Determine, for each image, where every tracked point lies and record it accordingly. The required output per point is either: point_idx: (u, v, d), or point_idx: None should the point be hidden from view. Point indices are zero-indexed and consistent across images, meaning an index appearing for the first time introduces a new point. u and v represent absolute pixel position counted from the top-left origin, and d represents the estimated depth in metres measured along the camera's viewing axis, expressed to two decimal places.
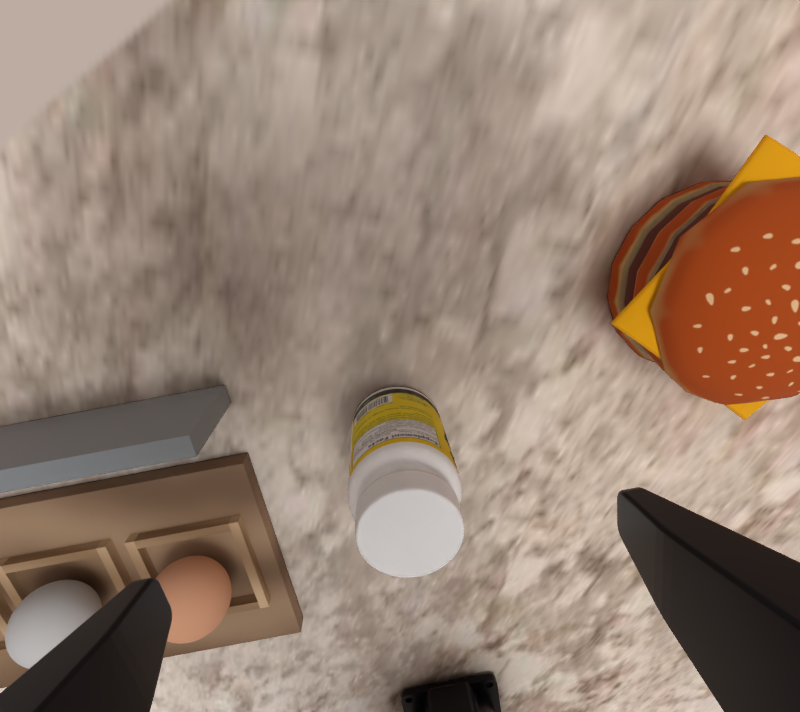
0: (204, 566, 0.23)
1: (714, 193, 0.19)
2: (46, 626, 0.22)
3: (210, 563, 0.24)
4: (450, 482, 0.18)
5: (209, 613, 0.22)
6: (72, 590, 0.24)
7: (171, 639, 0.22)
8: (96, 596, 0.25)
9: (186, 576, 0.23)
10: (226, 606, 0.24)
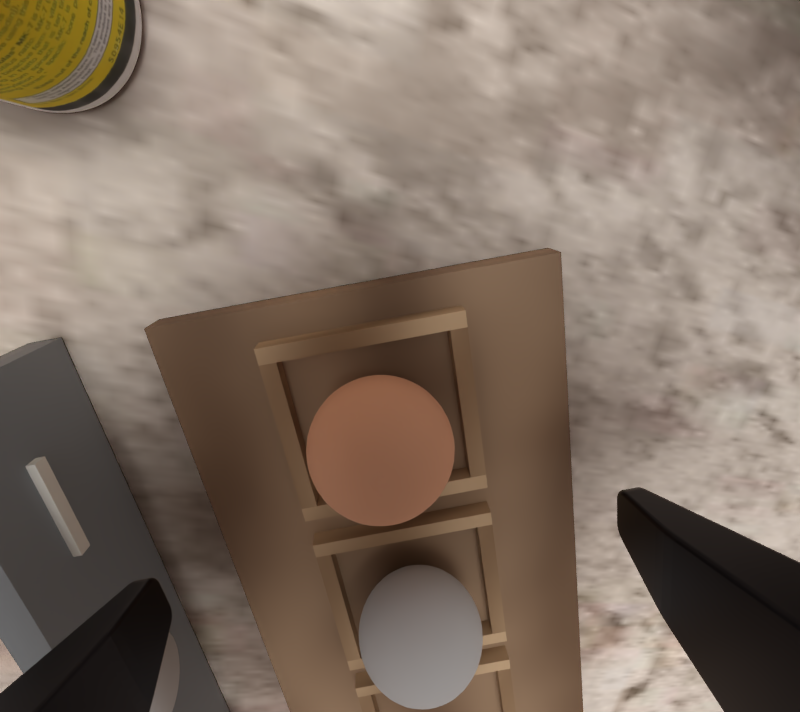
0: (314, 416, 0.12)
1: None
2: (380, 658, 0.13)
3: (321, 405, 0.13)
4: None
5: (367, 425, 0.11)
6: (367, 602, 0.15)
7: (405, 500, 0.11)
8: (399, 571, 0.15)
9: (307, 451, 0.12)
10: (389, 390, 0.12)
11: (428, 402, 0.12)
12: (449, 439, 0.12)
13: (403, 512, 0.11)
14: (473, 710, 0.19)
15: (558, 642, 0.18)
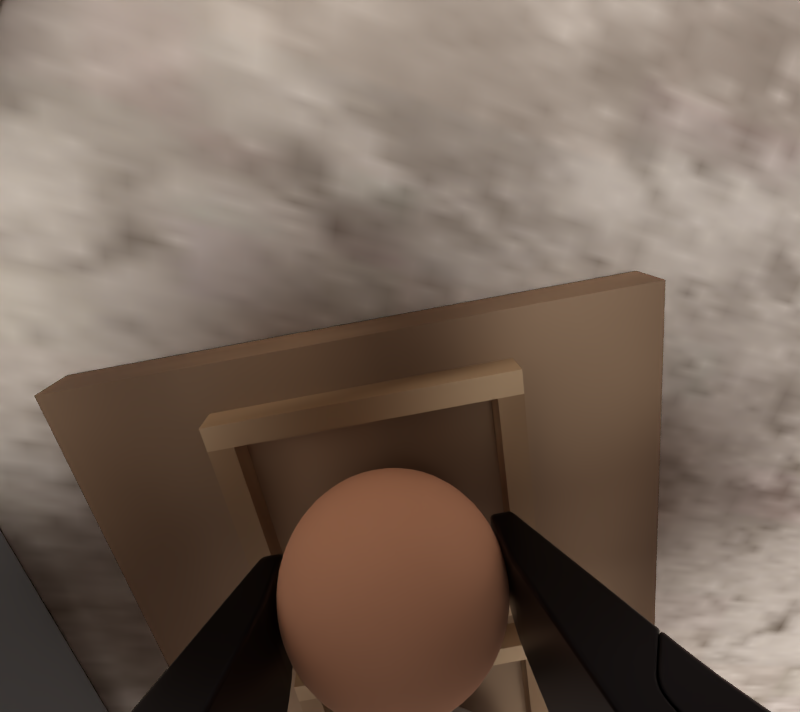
0: (290, 539, 0.08)
1: None
2: None
3: (302, 517, 0.08)
4: None
5: (374, 582, 0.06)
6: None
7: (437, 706, 0.07)
8: None
9: (277, 601, 0.07)
10: (408, 510, 0.07)
11: (471, 526, 0.07)
12: (504, 585, 0.07)
13: None
14: None
15: None
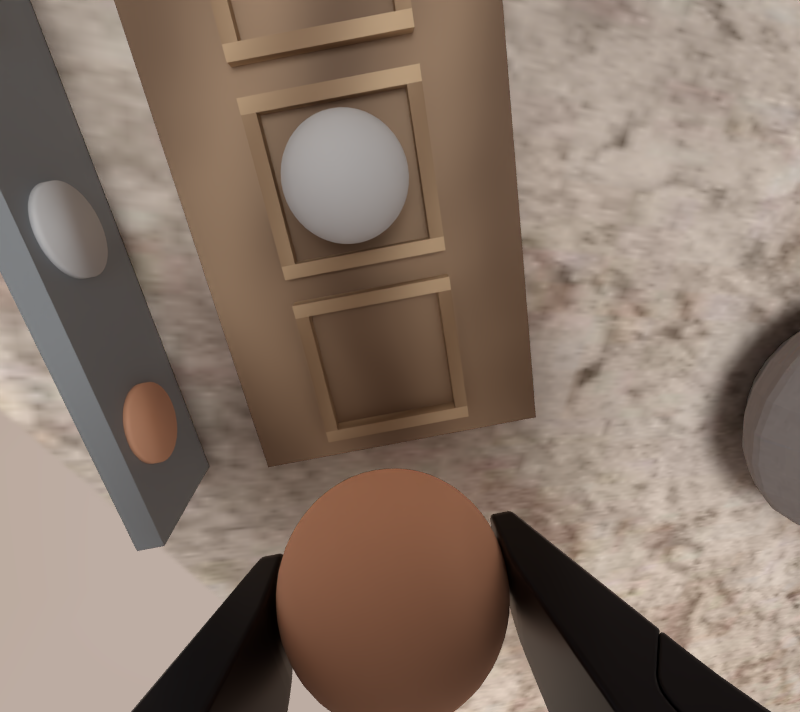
0: (289, 539, 0.08)
1: None
2: (295, 152, 0.13)
3: (301, 518, 0.08)
4: None
5: (373, 583, 0.06)
6: None
7: (437, 708, 0.06)
8: None
9: (277, 602, 0.07)
10: (408, 511, 0.07)
11: (471, 527, 0.07)
12: (504, 586, 0.07)
13: None
14: (419, 363, 0.19)
15: (502, 274, 0.18)
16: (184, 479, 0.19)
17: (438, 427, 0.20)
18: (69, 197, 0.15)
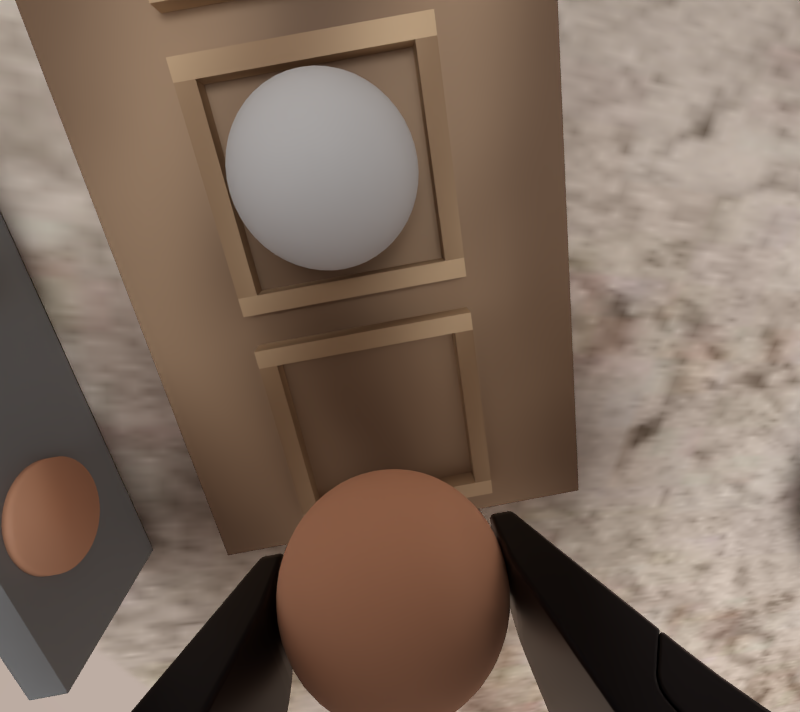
0: (289, 540, 0.08)
1: None
2: (243, 132, 0.08)
3: (301, 519, 0.08)
4: None
5: (373, 584, 0.06)
6: None
7: (437, 709, 0.06)
8: None
9: (277, 603, 0.07)
10: (409, 512, 0.07)
11: (471, 527, 0.07)
12: (505, 587, 0.07)
13: None
14: (427, 423, 0.14)
15: (541, 307, 0.13)
16: (110, 580, 0.14)
17: None
18: None
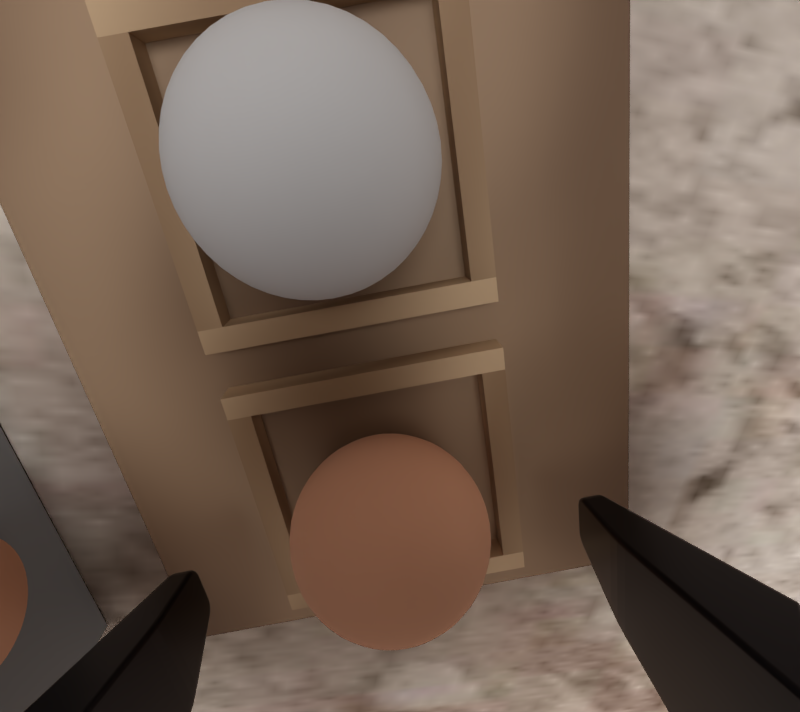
0: None
1: None
2: (176, 97, 0.05)
3: (310, 476, 0.09)
4: None
5: (373, 520, 0.08)
6: None
7: (427, 625, 0.08)
8: None
9: (290, 544, 0.09)
10: (403, 464, 0.08)
11: (457, 478, 0.09)
12: (486, 529, 0.09)
13: (424, 638, 0.08)
14: None
15: (591, 338, 0.10)
16: (43, 681, 0.11)
17: None
18: None
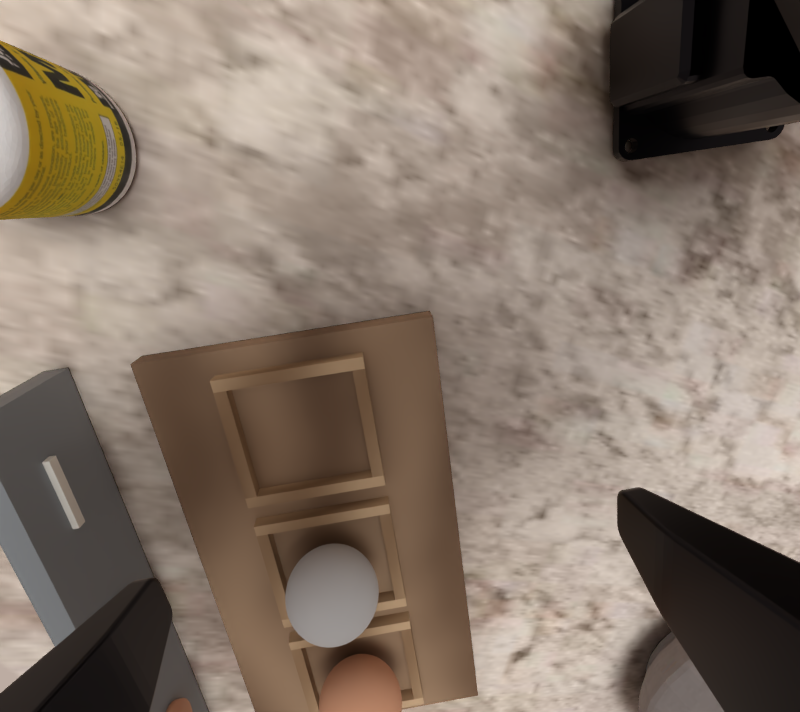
0: (323, 688, 0.22)
1: None
2: (297, 607, 0.18)
3: (327, 678, 0.22)
4: None
5: (354, 711, 0.21)
6: (293, 569, 0.20)
7: None
8: (319, 547, 0.20)
9: None
10: (365, 683, 0.21)
11: (387, 686, 0.22)
12: (398, 706, 0.22)
13: None
14: None
15: (450, 609, 0.24)
16: None
17: None
18: None
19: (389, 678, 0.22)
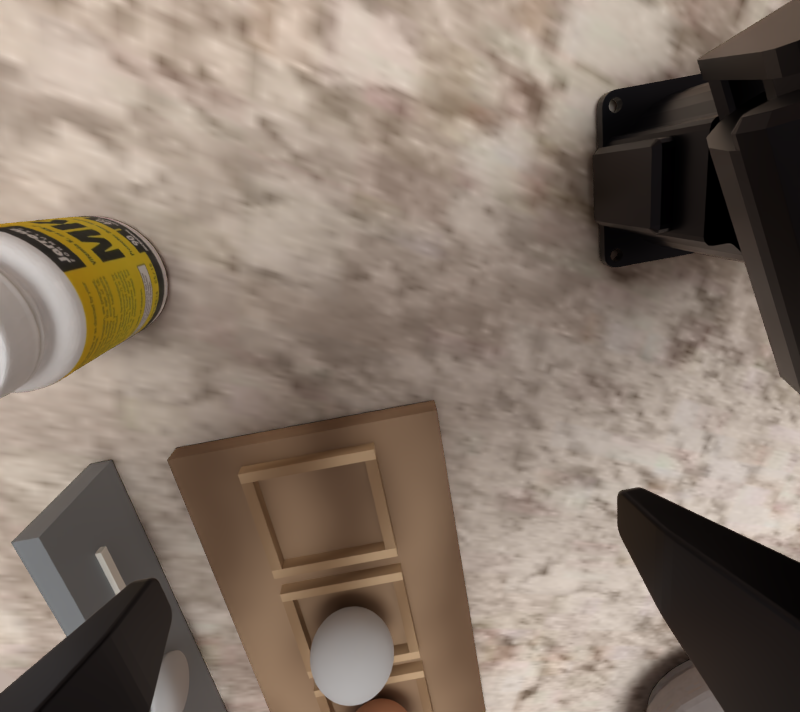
0: None
1: None
2: (321, 672, 0.21)
3: None
4: None
5: None
6: (316, 633, 0.22)
7: None
8: (338, 611, 0.23)
9: None
10: None
11: None
12: None
13: None
14: (403, 706, 0.27)
15: (461, 658, 0.26)
16: None
17: None
18: (169, 666, 0.22)
19: None
